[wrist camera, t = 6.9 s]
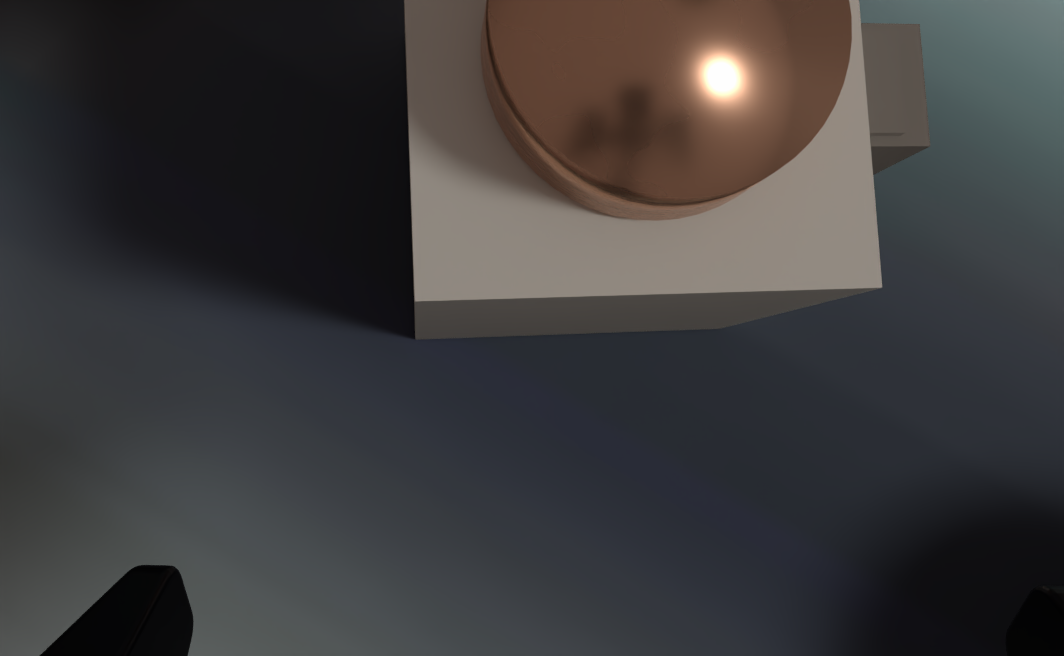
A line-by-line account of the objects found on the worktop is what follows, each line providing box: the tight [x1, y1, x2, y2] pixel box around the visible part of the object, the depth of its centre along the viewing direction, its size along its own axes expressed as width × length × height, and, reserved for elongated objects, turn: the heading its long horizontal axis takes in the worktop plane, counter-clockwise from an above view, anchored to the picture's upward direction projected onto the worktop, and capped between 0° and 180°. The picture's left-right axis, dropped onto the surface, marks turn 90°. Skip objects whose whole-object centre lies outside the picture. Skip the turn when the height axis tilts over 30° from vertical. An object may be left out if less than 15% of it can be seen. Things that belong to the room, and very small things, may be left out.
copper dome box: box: [404, 0, 930, 339], centre depth 18 cm, size 8×10×8 cm
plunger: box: [480, 0, 852, 221], centre depth 16 cm, size 6×6×7 cm
